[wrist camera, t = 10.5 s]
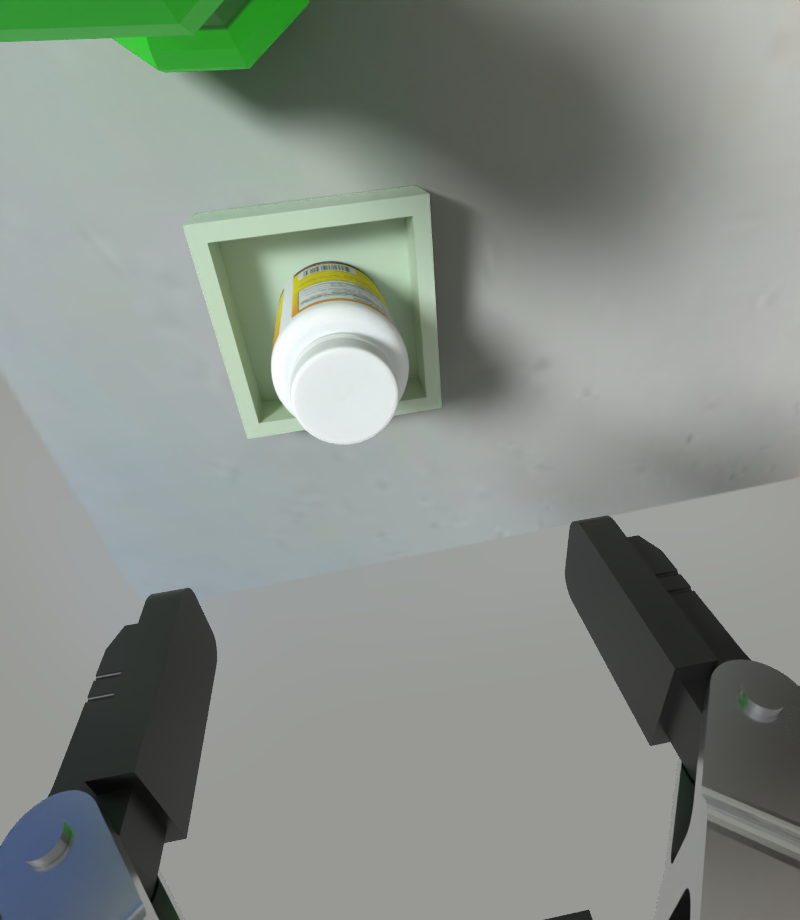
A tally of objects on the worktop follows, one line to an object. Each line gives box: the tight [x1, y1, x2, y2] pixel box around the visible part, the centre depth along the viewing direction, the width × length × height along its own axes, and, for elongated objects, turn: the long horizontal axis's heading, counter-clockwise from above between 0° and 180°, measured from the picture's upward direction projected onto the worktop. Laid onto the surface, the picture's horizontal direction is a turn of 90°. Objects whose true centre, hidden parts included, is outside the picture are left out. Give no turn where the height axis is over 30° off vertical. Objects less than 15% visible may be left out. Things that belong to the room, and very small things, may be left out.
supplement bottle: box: [271, 261, 409, 444], centre depth 23 cm, size 6×6×10 cm
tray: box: [182, 185, 442, 439], centre depth 27 cm, size 11×11×3 cm
